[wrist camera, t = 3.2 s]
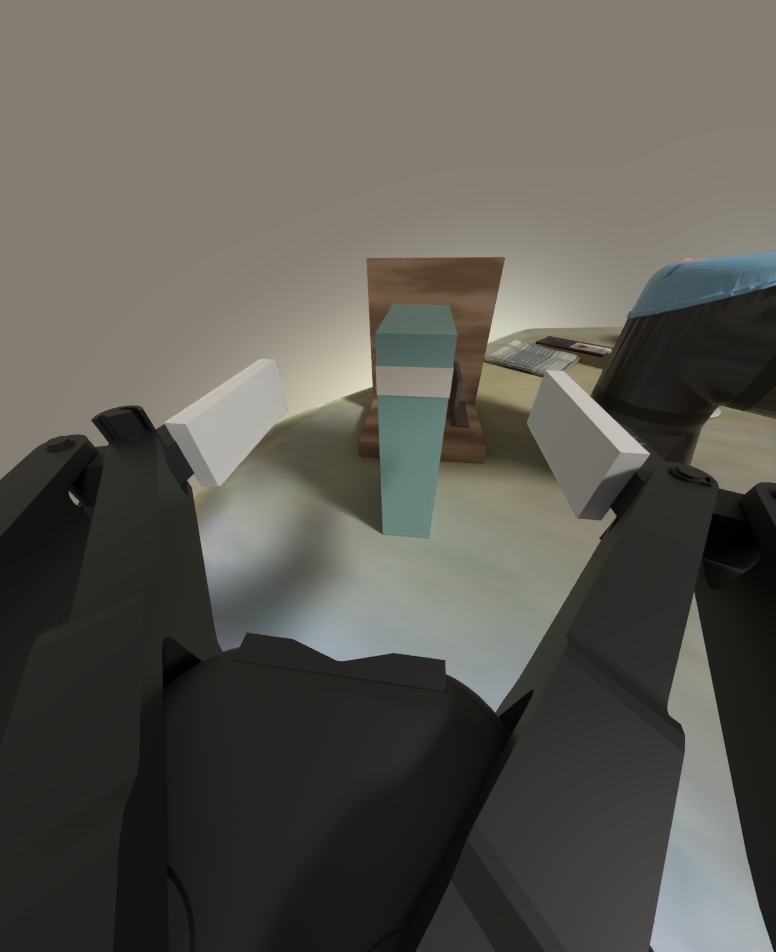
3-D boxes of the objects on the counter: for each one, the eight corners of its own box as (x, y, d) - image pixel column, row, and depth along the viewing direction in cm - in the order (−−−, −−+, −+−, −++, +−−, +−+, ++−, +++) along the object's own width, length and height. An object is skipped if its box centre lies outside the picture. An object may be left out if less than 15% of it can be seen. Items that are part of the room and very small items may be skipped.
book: (430, 477, 37) (450, 305, 24) (429, 539, 29) (458, 334, 16) (392, 475, 38) (392, 304, 25) (382, 534, 30) (374, 333, 17)
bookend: (469, 427, 42) (478, 382, 37) (451, 426, 42) (458, 381, 38) (464, 401, 49) (471, 360, 44) (448, 400, 49) (454, 360, 45)
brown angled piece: (482, 463, 39) (536, 265, 25) (359, 455, 41) (340, 266, 27) (469, 406, 53) (499, 256, 38) (377, 402, 55) (371, 257, 40)
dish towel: (551, 382, 63) (557, 368, 60) (482, 364, 72) (484, 351, 70) (580, 362, 72) (586, 349, 70) (516, 348, 82) (519, 337, 80)
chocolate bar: (549, 336, 88) (613, 347, 78) (548, 339, 89) (611, 351, 79) (536, 341, 84) (602, 355, 74) (535, 345, 84) (600, 358, 74)
